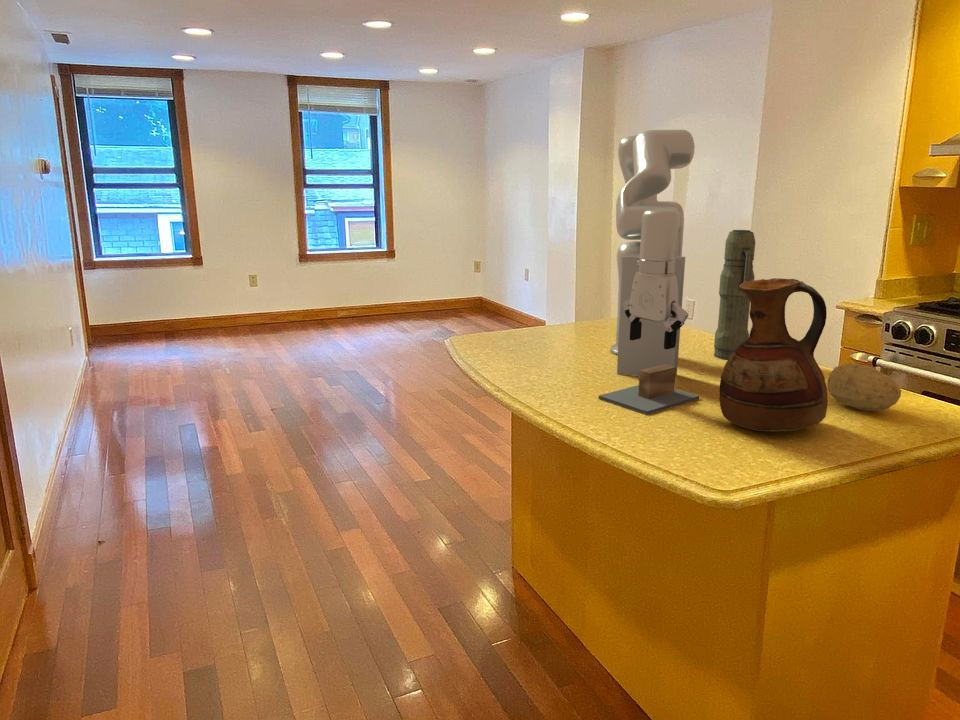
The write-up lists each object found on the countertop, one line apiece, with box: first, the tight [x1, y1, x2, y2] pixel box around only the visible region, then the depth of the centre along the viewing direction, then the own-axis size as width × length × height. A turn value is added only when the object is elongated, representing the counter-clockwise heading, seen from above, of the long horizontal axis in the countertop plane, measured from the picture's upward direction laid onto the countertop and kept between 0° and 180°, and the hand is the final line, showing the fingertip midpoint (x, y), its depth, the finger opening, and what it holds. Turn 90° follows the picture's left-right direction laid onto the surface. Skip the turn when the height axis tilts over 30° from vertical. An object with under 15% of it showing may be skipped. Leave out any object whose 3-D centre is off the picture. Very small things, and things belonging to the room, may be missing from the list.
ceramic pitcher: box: [718, 278, 829, 432], centre depth 137 cm, size 20×20×30 cm
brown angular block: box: [638, 364, 677, 399], centre depth 157 cm, size 3×9×6 cm, turn 127°
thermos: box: [713, 229, 756, 361], centre depth 190 cm, size 9×12×35 cm
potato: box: [826, 363, 902, 412], centre depth 149 cm, size 10×14×10 cm
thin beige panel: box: [616, 254, 686, 377], centre depth 173 cm, size 14×6×30 cm, turn 65°
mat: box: [598, 384, 700, 416], centre depth 157 cm, size 18×14×1 cm
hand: (651, 343), depth 154 cm, fingers open, 9 cm apart
